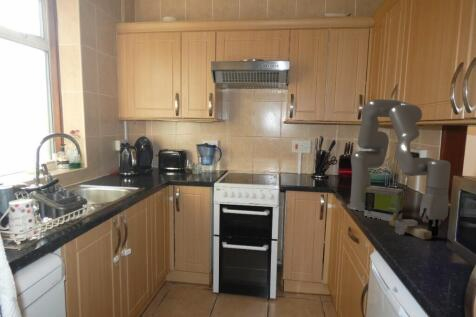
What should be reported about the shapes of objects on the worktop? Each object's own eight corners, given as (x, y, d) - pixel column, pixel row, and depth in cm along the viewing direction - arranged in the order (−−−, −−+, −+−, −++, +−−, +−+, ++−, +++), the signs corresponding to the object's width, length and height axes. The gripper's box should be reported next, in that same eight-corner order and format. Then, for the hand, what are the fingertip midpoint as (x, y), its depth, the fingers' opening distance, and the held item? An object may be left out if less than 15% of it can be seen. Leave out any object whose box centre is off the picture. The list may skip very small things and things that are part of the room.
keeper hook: (394, 232, 123) (395, 219, 122) (411, 232, 123) (413, 219, 123) (399, 235, 120) (400, 221, 119) (416, 234, 121) (417, 221, 120)
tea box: (402, 218, 141) (404, 189, 140) (396, 223, 134) (399, 192, 132) (370, 212, 151) (371, 184, 150) (363, 216, 144) (365, 187, 142)
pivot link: (386, 224, 132) (387, 212, 132) (395, 223, 134) (396, 211, 133) (422, 239, 115) (423, 225, 114) (432, 238, 116) (433, 224, 116)
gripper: (441, 188, 121) (437, 230, 123) (413, 189, 117) (410, 233, 119) (459, 192, 114) (455, 236, 116) (430, 194, 110) (426, 240, 112)
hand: (432, 235), depth 117 cm, fingers closed
